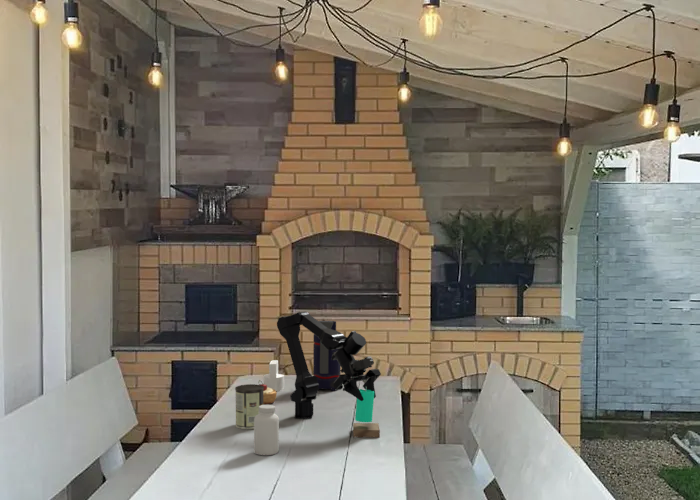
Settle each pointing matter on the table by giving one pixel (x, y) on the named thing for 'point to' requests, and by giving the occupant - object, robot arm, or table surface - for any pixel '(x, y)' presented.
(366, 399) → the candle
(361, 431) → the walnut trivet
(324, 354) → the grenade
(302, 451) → the table surface
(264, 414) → the pill bottle
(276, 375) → the base with upright slab
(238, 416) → the coffee can
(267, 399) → the pastry
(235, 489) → the table surface
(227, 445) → the table surface
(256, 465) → the table surface
